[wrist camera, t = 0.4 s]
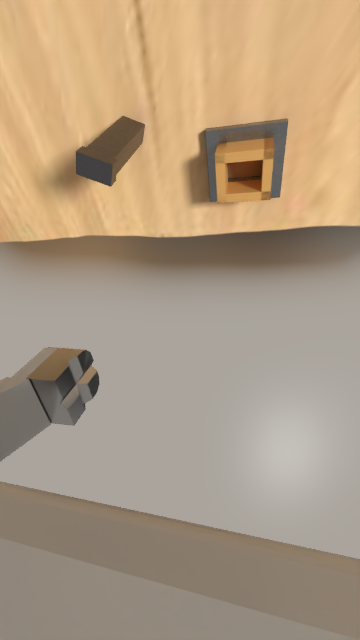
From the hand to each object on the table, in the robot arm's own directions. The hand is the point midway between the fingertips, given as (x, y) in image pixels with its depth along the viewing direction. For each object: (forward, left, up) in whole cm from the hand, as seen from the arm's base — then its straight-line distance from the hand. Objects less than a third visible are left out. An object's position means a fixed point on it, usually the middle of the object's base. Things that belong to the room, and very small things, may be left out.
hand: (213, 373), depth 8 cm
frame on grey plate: (+10, +7, -51) cm, 53 cm away
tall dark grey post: (+16, -13, -51) cm, 55 cm away
